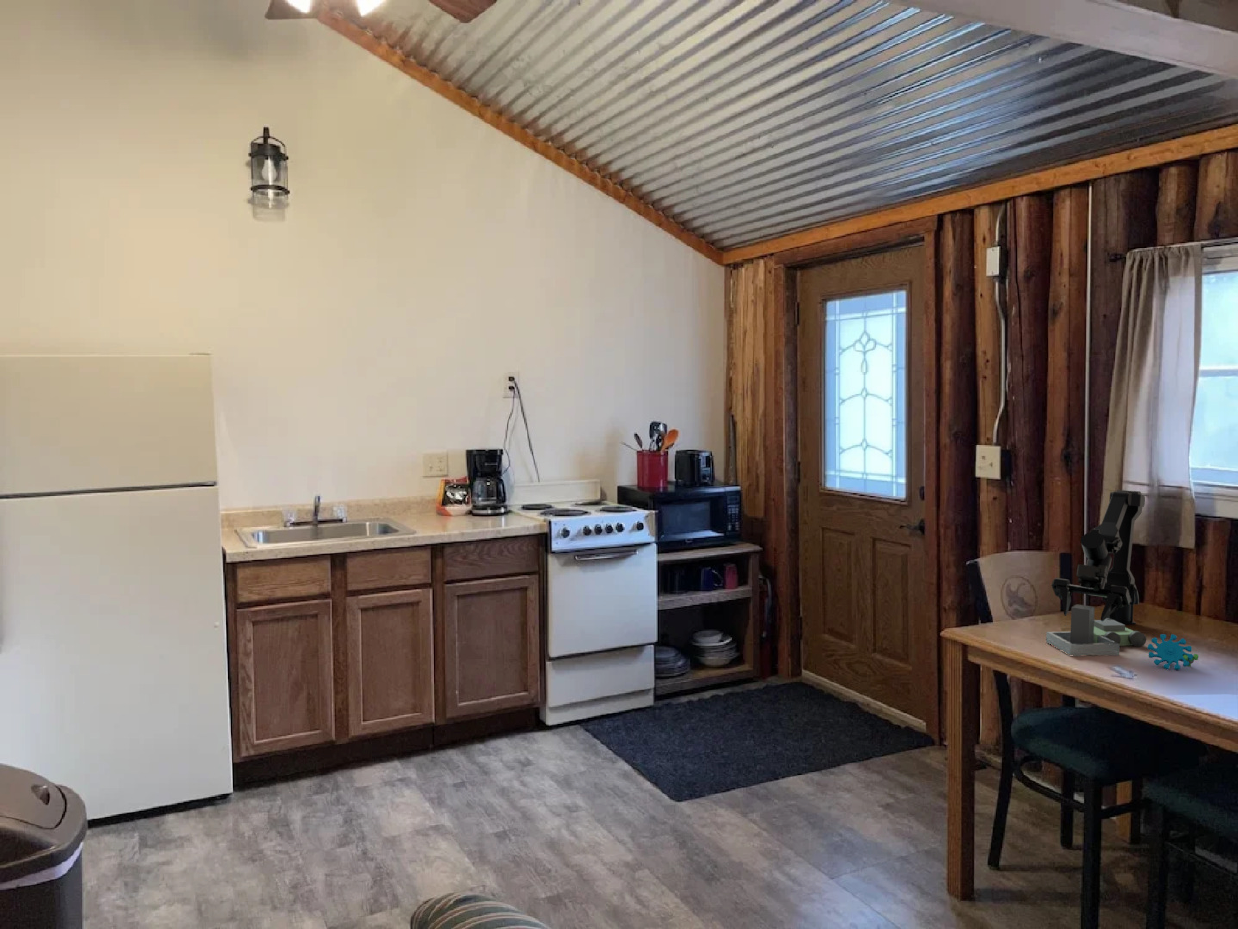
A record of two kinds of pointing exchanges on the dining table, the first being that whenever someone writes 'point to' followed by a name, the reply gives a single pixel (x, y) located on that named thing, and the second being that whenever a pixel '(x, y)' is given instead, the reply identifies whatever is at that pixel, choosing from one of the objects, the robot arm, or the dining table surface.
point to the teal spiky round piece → (1171, 652)
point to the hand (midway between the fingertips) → (1083, 617)
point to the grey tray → (1082, 645)
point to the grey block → (1082, 624)
